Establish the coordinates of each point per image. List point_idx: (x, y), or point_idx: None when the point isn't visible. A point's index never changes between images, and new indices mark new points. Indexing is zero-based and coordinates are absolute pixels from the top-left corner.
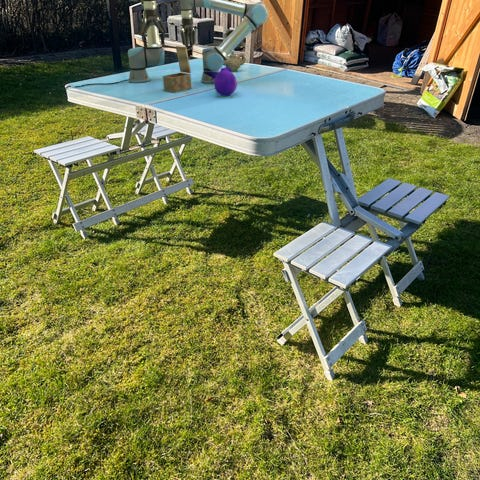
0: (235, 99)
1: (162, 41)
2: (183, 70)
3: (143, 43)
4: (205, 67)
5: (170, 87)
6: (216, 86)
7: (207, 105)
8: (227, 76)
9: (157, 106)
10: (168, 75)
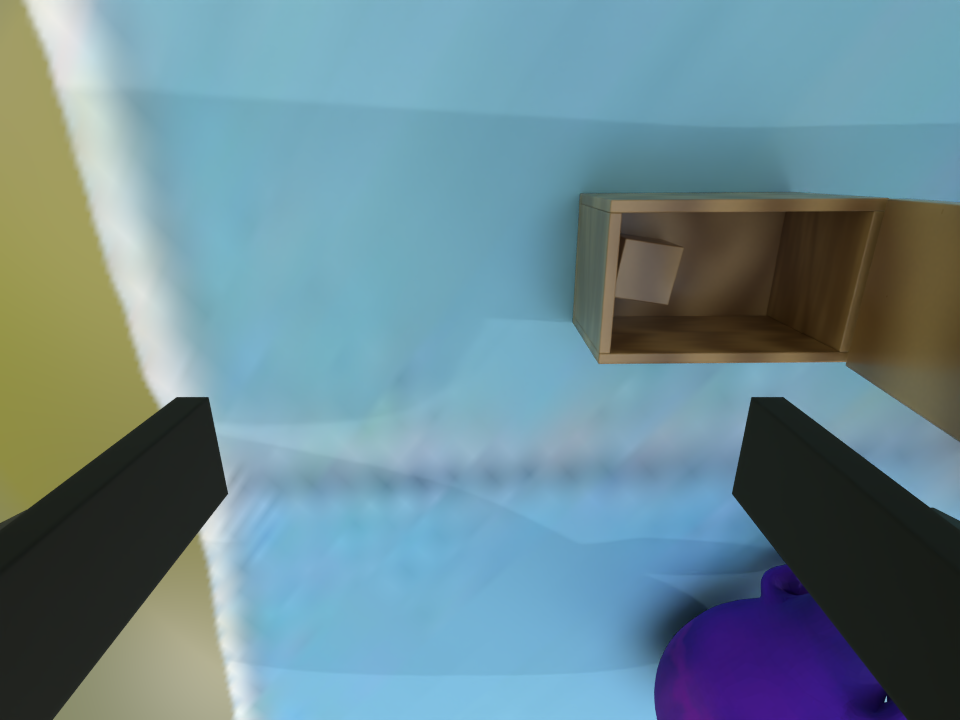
0: None
1: (786, 513)
2: (882, 269)
3: (116, 445)
4: None
5: (581, 300)
6: (660, 694)
7: (472, 700)
8: None
9: (251, 542)
10: (683, 211)
